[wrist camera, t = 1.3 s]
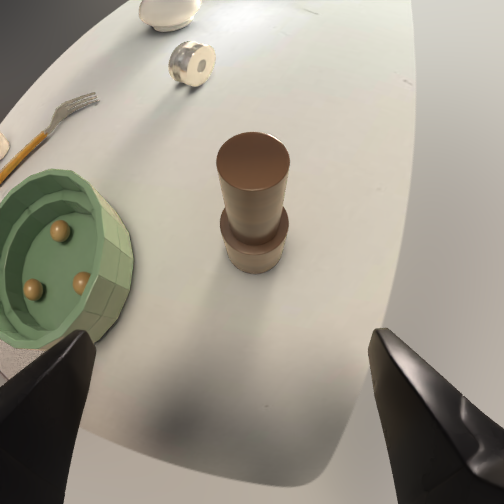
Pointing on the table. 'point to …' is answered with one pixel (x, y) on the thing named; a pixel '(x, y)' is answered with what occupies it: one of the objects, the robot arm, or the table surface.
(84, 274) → the bead
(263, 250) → the brown stepped cylinder
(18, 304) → the bowl
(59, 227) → the bead
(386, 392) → the robot arm
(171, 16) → the flower vase
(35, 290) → the bead
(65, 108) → the fork
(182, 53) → the metal grooved wheel
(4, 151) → the milkshake
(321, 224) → the table surface
